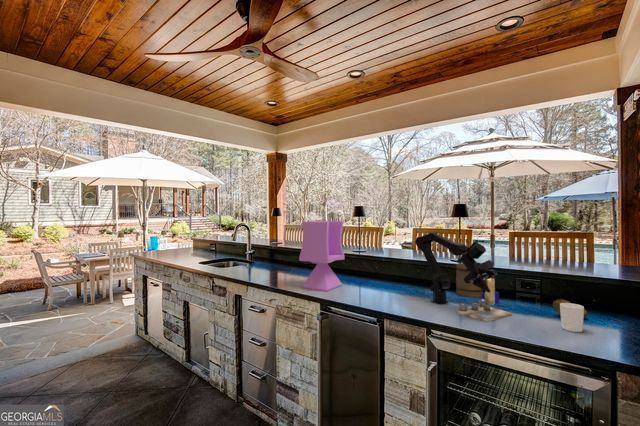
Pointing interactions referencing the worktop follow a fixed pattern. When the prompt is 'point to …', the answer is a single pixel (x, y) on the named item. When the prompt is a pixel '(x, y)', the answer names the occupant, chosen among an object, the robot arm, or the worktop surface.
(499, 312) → the board
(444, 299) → the robot arm
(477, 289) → the wooden container
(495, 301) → the cable clip
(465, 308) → the short steel spacers
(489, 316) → the grey flat square plate
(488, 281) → the tall brass spacer
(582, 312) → the white cup
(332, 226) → the purple pedestal chair
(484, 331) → the worktop surface
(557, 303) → the potato
